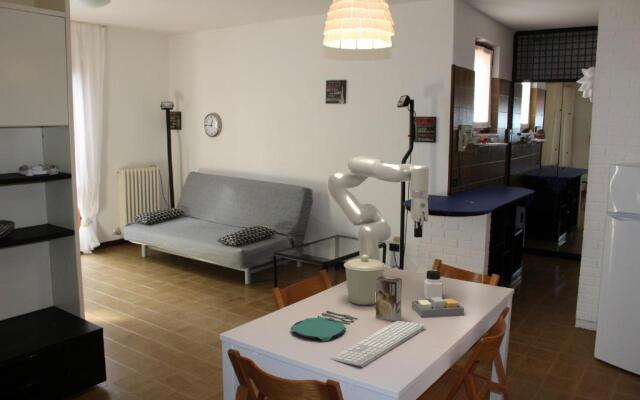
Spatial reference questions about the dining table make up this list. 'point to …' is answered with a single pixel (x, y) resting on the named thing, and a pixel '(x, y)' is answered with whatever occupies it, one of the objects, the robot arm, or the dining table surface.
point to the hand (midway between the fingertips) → (418, 237)
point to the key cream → (424, 304)
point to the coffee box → (388, 298)
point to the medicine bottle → (433, 284)
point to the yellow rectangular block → (450, 303)
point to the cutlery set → (321, 326)
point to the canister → (363, 279)
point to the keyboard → (378, 343)
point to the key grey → (437, 302)
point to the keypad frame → (437, 310)
